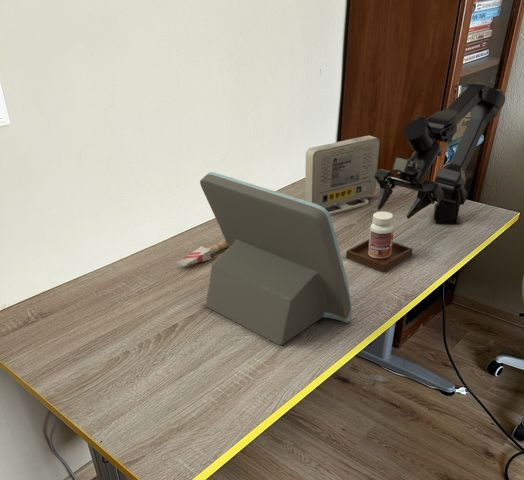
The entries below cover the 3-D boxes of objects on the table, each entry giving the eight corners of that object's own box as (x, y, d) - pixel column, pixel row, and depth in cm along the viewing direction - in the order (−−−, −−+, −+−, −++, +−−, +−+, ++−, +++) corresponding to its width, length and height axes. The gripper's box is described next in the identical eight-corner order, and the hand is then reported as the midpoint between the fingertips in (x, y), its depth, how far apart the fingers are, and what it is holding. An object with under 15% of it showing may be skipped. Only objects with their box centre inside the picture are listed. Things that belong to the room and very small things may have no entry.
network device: (363, 193, 190) (367, 133, 179) (380, 201, 184) (385, 139, 172) (301, 210, 180) (301, 147, 168) (316, 218, 174) (318, 153, 162)
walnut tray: (374, 242, 158) (375, 235, 157) (411, 255, 151) (412, 248, 150) (346, 258, 151) (346, 250, 150) (383, 272, 144) (384, 264, 143)
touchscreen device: (355, 318, 126) (362, 190, 108) (298, 358, 116) (295, 224, 98) (249, 270, 147) (239, 156, 129) (192, 301, 136) (173, 181, 118)
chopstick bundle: (174, 257, 148) (227, 235, 160) (175, 266, 149) (227, 244, 162) (184, 261, 146) (236, 238, 158) (185, 270, 147) (237, 247, 160)
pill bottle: (393, 258, 149) (398, 218, 142) (371, 260, 148) (375, 220, 142) (387, 248, 154) (391, 209, 147) (365, 250, 153) (368, 211, 147)
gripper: (381, 137, 146) (352, 190, 146) (444, 151, 135) (413, 207, 135) (395, 160, 155) (368, 210, 155) (456, 175, 144) (426, 228, 144)
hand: (392, 213), depth 147 cm, fingers open, 9 cm apart
